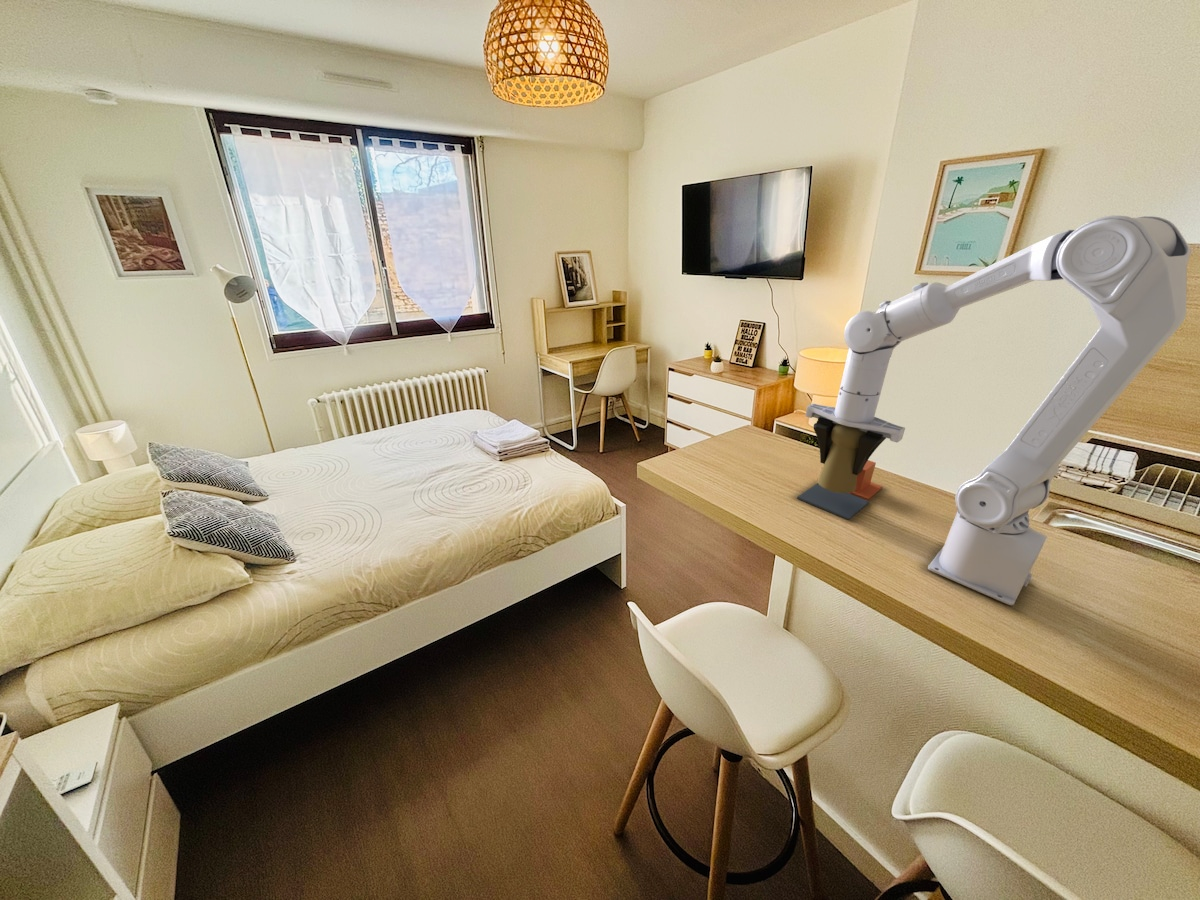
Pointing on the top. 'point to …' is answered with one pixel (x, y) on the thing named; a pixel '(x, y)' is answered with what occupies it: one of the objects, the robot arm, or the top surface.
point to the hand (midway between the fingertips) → (840, 467)
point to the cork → (841, 460)
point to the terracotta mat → (868, 491)
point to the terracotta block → (865, 476)
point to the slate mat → (833, 501)
